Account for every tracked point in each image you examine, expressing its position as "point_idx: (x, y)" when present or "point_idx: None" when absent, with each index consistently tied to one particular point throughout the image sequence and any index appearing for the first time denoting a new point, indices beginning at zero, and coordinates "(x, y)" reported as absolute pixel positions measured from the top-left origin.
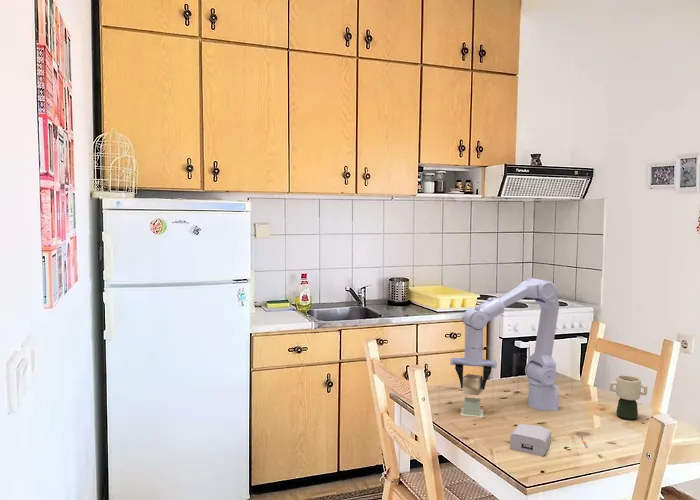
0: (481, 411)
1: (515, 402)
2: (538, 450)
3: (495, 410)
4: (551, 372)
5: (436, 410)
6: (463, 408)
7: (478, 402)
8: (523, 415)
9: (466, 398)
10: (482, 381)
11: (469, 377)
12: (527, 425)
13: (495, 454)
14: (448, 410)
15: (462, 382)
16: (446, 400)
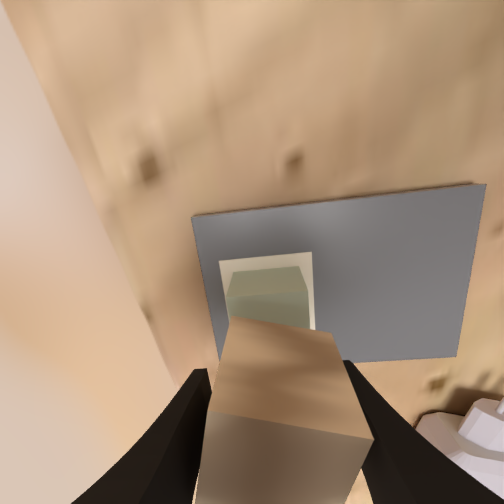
0: (305, 276)
1: (493, 2)
2: None
3: (363, 195)
4: None
5: (132, 284)
6: (228, 268)
7: None
8: (487, 213)
9: (238, 315)
10: (352, 389)
11: (247, 499)
12: (483, 477)
13: (349, 499)
14: (173, 268)
15: (201, 450)
16: (125, 142)
